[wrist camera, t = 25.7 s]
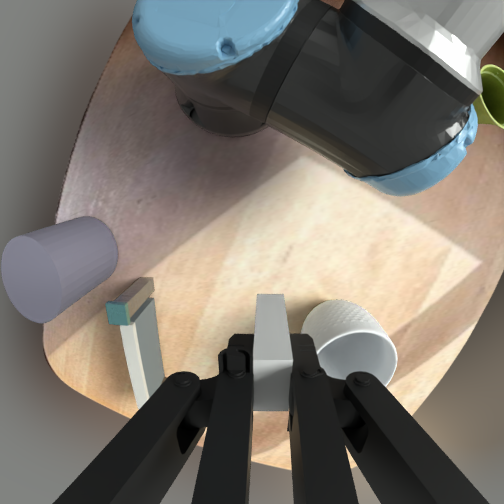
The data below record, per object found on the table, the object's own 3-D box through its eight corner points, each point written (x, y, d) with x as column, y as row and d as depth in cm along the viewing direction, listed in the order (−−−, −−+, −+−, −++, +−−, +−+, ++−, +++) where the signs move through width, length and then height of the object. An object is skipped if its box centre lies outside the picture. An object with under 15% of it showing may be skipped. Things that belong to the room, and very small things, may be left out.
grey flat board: (165, 376, 46) (149, 410, 38) (155, 374, 46) (138, 408, 38) (155, 298, 43) (132, 325, 34) (143, 297, 43) (119, 324, 34)
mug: (321, 380, 46) (336, 437, 33) (264, 352, 45) (264, 409, 32) (380, 308, 43) (416, 353, 30) (322, 272, 42) (346, 311, 29)
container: (59, 219, 41) (-6, 239, 27) (113, 212, 41) (50, 231, 26) (71, 283, 44) (14, 320, 29) (124, 281, 43) (72, 325, 28)
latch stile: (138, 275, 43) (105, 303, 32) (154, 275, 43) (124, 305, 32) (140, 291, 43) (109, 324, 33) (156, 292, 43) (128, 325, 33)
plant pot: (460, 140, 36) (495, 136, 28) (436, 82, 34) (468, 68, 26) (495, 126, 35) (529, 122, 27) (474, 73, 33) (505, 61, 25)
